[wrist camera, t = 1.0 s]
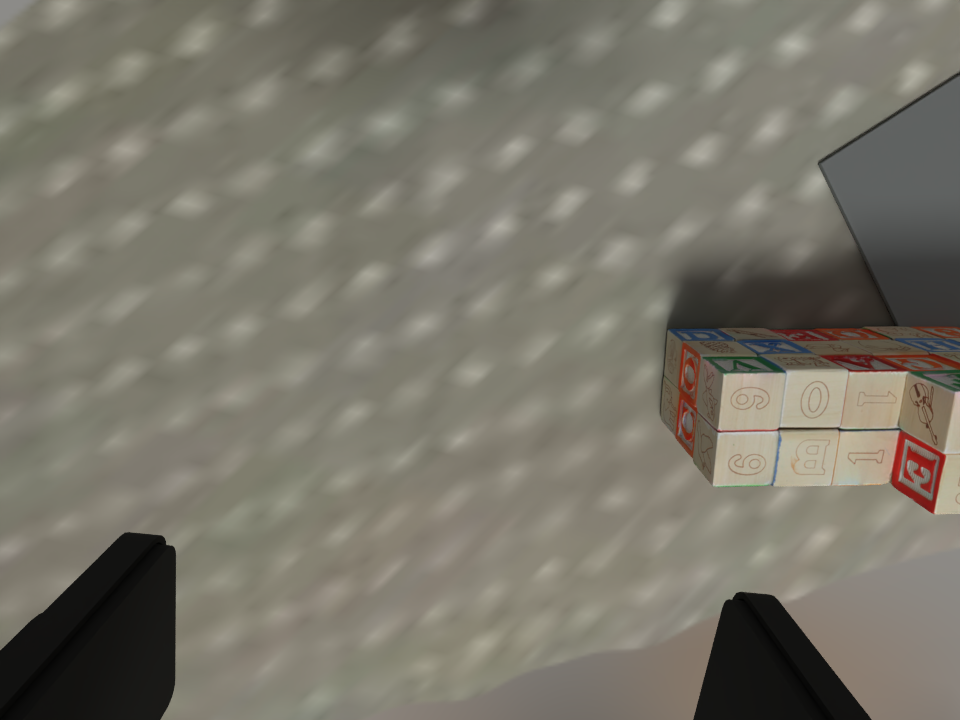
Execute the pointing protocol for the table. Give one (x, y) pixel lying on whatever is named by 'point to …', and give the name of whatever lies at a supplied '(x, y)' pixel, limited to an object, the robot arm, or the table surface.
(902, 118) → the mat
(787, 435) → the stack of blocks
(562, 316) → the table surface
